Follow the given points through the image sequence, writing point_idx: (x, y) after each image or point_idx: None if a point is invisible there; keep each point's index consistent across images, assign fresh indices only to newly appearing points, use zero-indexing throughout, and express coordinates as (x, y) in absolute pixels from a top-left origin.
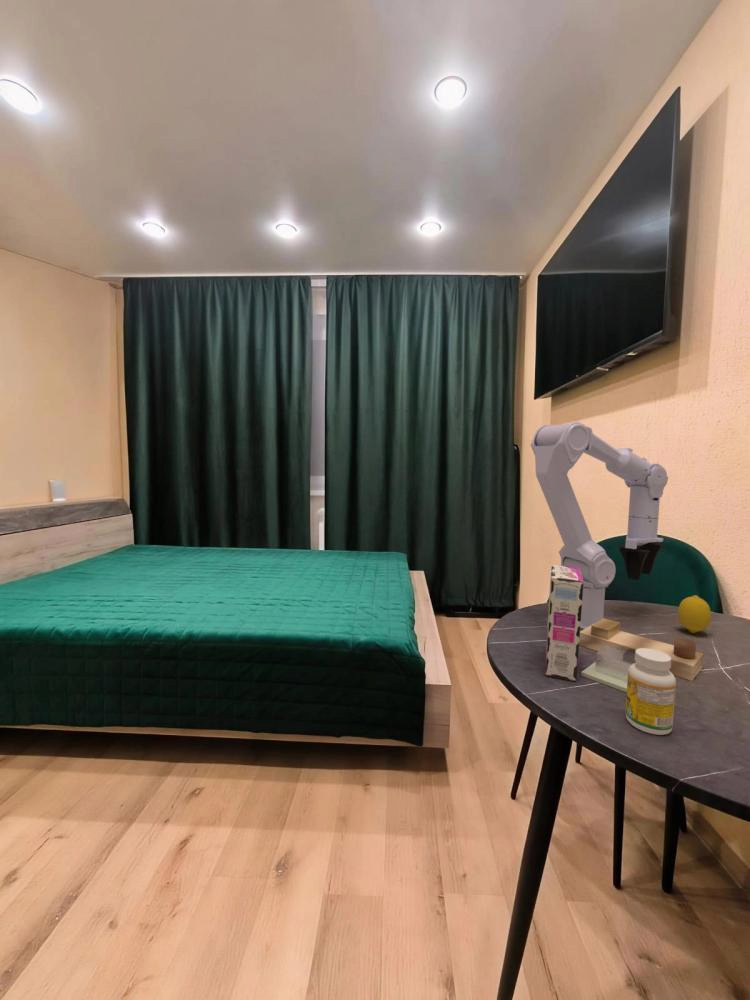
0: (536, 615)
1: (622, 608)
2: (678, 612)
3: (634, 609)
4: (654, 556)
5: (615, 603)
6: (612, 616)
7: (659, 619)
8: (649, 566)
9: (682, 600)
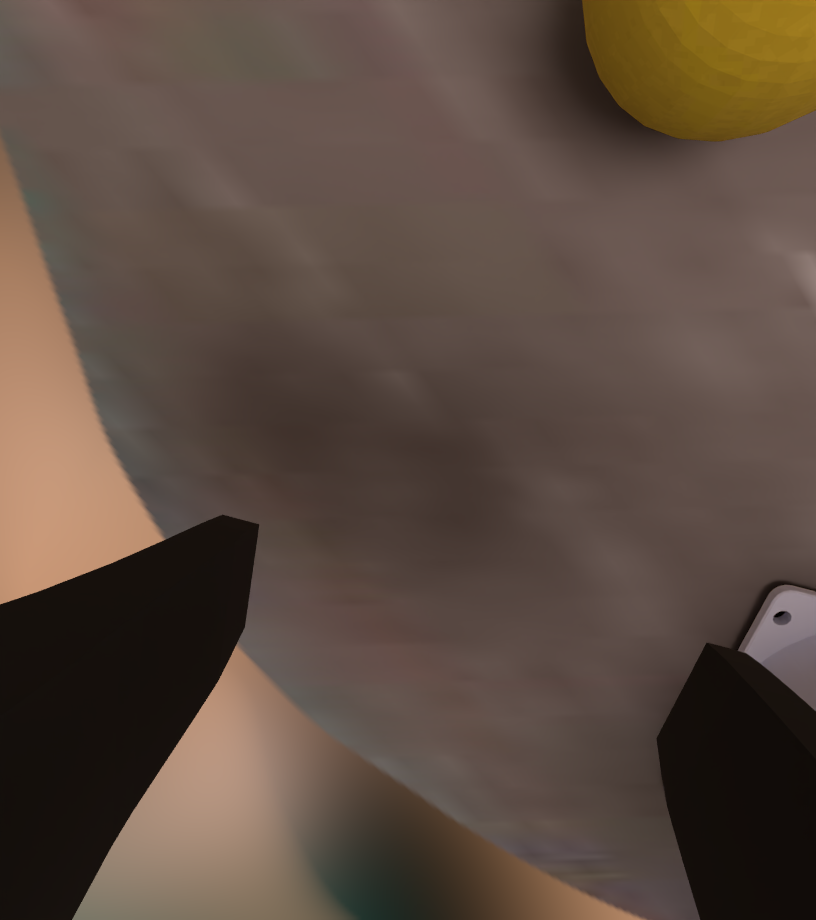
0: None
1: (338, 524)
2: (764, 131)
3: (305, 455)
4: (54, 684)
5: None
6: (574, 572)
7: (446, 290)
8: (201, 597)
9: (760, 67)
